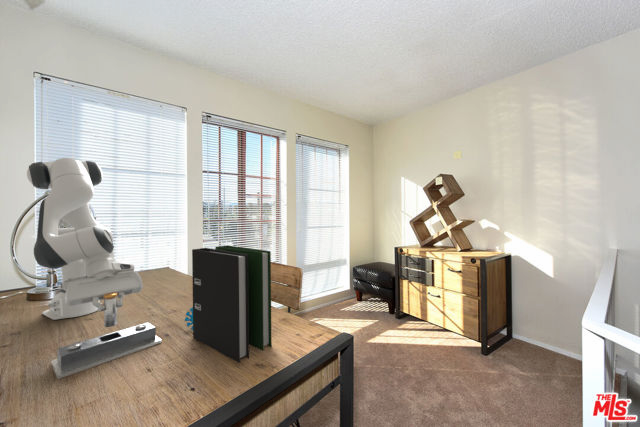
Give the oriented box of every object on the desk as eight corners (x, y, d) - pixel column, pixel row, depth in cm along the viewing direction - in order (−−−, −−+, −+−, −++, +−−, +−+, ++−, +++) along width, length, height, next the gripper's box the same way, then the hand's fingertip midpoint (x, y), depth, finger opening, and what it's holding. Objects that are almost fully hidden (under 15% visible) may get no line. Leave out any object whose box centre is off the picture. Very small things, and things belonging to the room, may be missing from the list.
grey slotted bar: (57, 379, 73) (57, 358, 72) (51, 363, 80) (51, 345, 80) (161, 342, 93) (161, 326, 93) (149, 332, 100) (148, 318, 100)
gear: (186, 330, 98) (184, 305, 104) (182, 338, 101) (181, 313, 107) (216, 326, 105) (213, 303, 111) (212, 333, 108) (209, 311, 114)
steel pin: (100, 326, 85) (100, 295, 85) (112, 322, 89) (112, 292, 89) (108, 328, 84) (108, 296, 84) (120, 323, 87) (120, 293, 87)
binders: (273, 345, 90) (272, 250, 90) (234, 365, 78) (233, 256, 78) (228, 324, 107) (227, 245, 107) (191, 338, 95) (190, 249, 95)
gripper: (62, 273, 83) (68, 312, 76) (138, 263, 99) (148, 295, 92) (60, 285, 85) (65, 324, 79) (134, 274, 101) (144, 305, 95)
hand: (111, 308), depth 86 cm, fingers closed on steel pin, 3 cm apart
